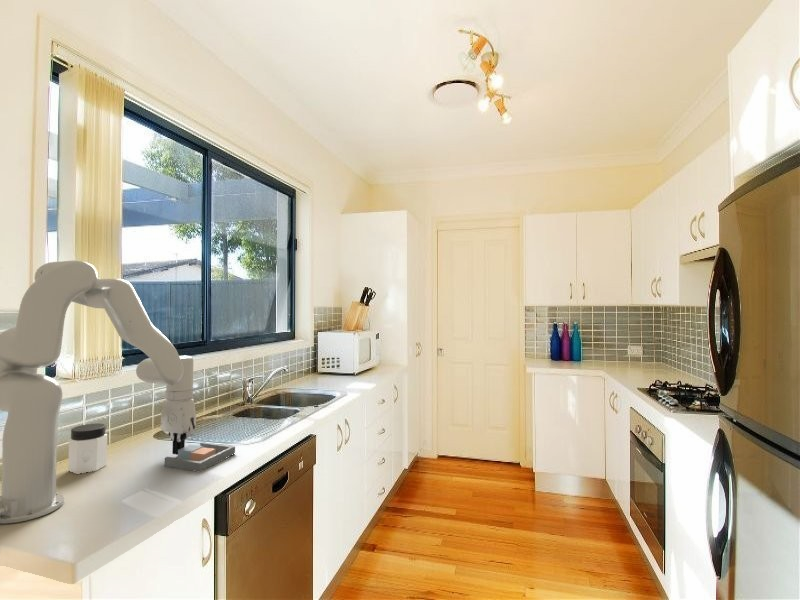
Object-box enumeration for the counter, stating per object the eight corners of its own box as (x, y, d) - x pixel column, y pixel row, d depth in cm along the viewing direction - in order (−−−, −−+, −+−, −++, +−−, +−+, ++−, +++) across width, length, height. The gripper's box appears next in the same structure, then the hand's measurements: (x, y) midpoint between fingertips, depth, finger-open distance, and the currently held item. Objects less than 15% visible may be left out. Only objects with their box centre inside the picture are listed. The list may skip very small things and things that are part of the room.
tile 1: (191, 461, 127) (191, 451, 127) (177, 459, 128) (178, 449, 128) (202, 455, 132) (203, 446, 132) (189, 454, 133) (189, 444, 133)
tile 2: (204, 464, 125) (204, 454, 125) (190, 462, 127) (190, 452, 127) (215, 458, 130) (215, 448, 130) (202, 456, 132) (202, 447, 132)
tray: (199, 472, 119) (199, 463, 119) (164, 466, 123) (164, 457, 123) (234, 454, 134) (235, 446, 134) (202, 449, 137) (202, 442, 137)
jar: (66, 476, 115) (67, 433, 115) (69, 466, 122) (70, 426, 122) (105, 469, 120) (106, 428, 120) (107, 460, 127) (108, 421, 127)
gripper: (151, 395, 130) (149, 454, 130) (189, 399, 125) (188, 460, 125) (170, 391, 137) (169, 446, 137) (207, 394, 133) (206, 451, 132)
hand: (178, 452), depth 131 cm, fingers closed
